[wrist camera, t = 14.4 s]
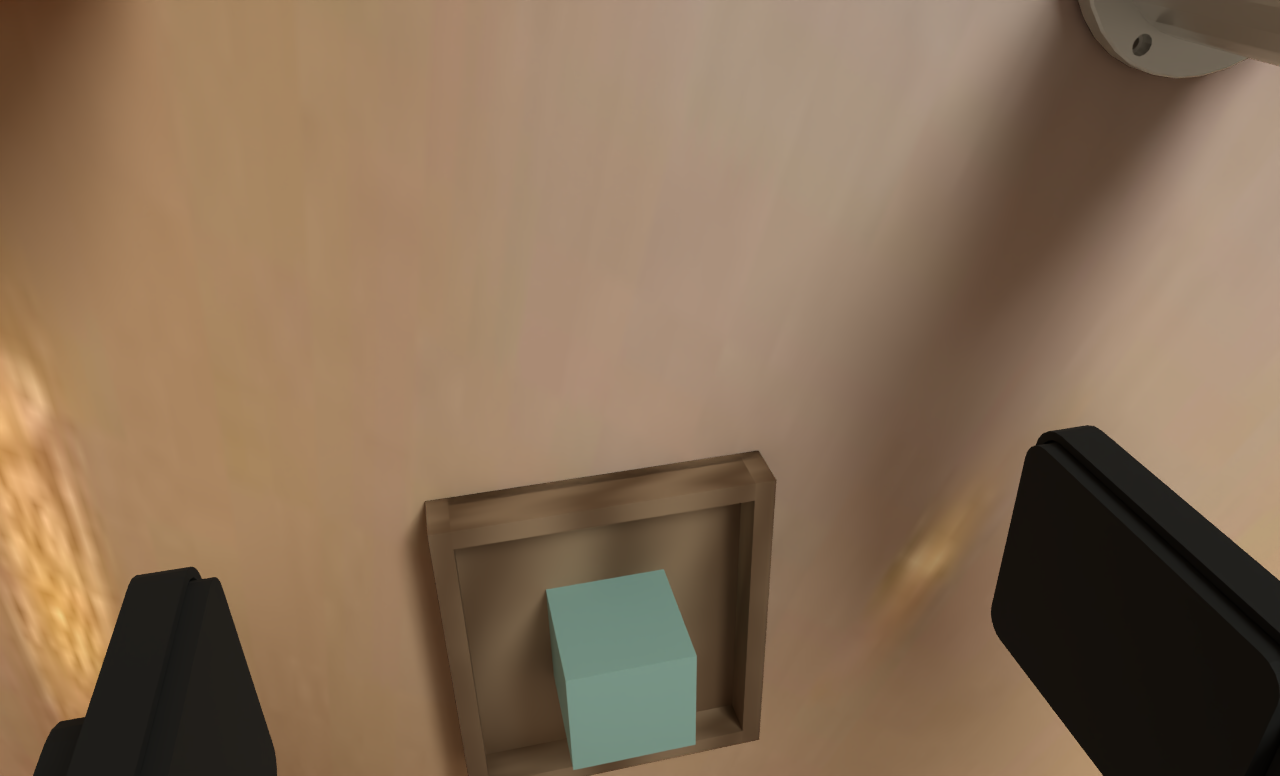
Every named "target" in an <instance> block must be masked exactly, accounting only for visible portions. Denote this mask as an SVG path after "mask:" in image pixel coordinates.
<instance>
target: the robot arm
mask: <svg viewBox="0 0 1280 776" xmlns="http://www.w3.org/2000/svg"><path fill="white" fill-rule="evenodd" d="M1078 1H1079V5H1080V8H1081V11H1082V15H1083V17H1084V19H1085V21H1086V23H1087V25H1088V26H1089V28H1090V30H1091V32H1092V34H1093V36H1094V37H1095V39H1096V40H1097V41H1098V42H1099V43H1100V44H1101V45H1102V46H1103V47H1104V48H1105V49H1106V51H1107V52H1108V53H1109V54H1110V55H1111V56H1113V57H1115V58H1116V59H1118V60H1119V61H1121V62H1123V63H1124V64H1126V65H1128V66H1129V67H1132V68H1135V69H1138V70H1141V71H1144V72H1147V73H1149V74H1152V75H1157V76H1163V77H1170V78H1188V77H1200V76H1204V75H1207V74H1211V73H1214V72H1218V71H1221V70H1224V69H1227V68H1229V67H1231V66H1233V65H1235V64H1237V63H1239V62H1241V61H1243V60H1245V59H1247V58H1251V59H1254V60H1258V61H1262V62H1265V63H1269V64H1273V65H1276V66H1280V0H1078ZM991 618H992V623H993V627H994V629H995V631H996V634H997V635H998V637H999V639H1000V640H1001V641H1002V643H1003V644H1004V645H1005V647H1006V648H1007V649H1008V651H1009V652H1010V653H1011V655H1012V656H1013V657H1014V659H1015V660H1016V661H1017V663H1018V664H1019V665H1020V667H1021V668H1022V669H1023V670H1024V672H1025V673H1026V674H1027V676H1028V677H1029V678H1030V680H1031V681H1032V682H1033V684H1034V685H1035V686H1036V688H1037V689H1038V690H1039V692H1040V693H1041V694H1042V696H1043V697H1044V698H1045V700H1046V701H1047V702H1048V703H1049V705H1050V706H1051V707H1052V709H1053V710H1054V711H1055V713H1056V714H1057V715H1058V717H1059V718H1060V719H1061V721H1062V722H1063V723H1064V725H1065V726H1066V727H1067V729H1068V730H1069V731H1070V732H1071V734H1072V735H1073V736H1074V738H1075V739H1076V740H1077V742H1078V743H1079V744H1080V746H1081V747H1082V748H1083V750H1084V751H1085V752H1086V754H1087V755H1088V756H1089V758H1090V759H1091V760H1092V761H1093V763H1094V764H1095V765H1096V767H1097V768H1098V769H1099V771H1100V772H1101V773H1102V775H1103V776H1280V581H1279V580H1278V579H1277V578H1276V577H1275V576H1273V575H1272V574H1271V573H1270V572H1269V571H1267V570H1266V569H1265V568H1264V567H1263V566H1262V565H1260V564H1259V563H1258V562H1257V561H1256V560H1254V559H1253V558H1252V557H1251V556H1250V555H1248V554H1247V553H1246V552H1245V551H1244V550H1243V549H1241V548H1240V547H1239V546H1238V545H1237V544H1235V543H1234V542H1233V541H1232V540H1231V539H1230V538H1228V537H1227V536H1226V535H1225V534H1224V533H1222V532H1221V531H1220V530H1219V529H1218V528H1216V527H1215V526H1214V525H1213V524H1212V523H1211V522H1209V521H1208V520H1207V519H1206V518H1205V517H1203V516H1202V515H1201V514H1200V513H1199V512H1198V511H1196V510H1195V509H1194V508H1193V507H1192V506H1190V505H1189V504H1188V503H1187V502H1186V501H1184V500H1183V499H1182V498H1181V497H1180V496H1179V495H1177V494H1176V493H1175V492H1174V491H1173V490H1171V489H1170V488H1169V487H1168V486H1167V485H1165V484H1164V483H1163V482H1162V481H1161V480H1160V479H1158V478H1157V477H1156V476H1155V475H1154V474H1152V473H1151V472H1150V471H1149V470H1148V469H1147V468H1145V467H1144V466H1143V465H1142V464H1141V463H1139V462H1138V461H1137V460H1136V459H1135V458H1133V457H1132V456H1131V455H1130V454H1129V453H1128V452H1126V451H1125V450H1124V449H1123V448H1122V447H1120V446H1119V445H1118V444H1117V443H1116V442H1115V441H1113V440H1112V439H1111V438H1110V437H1109V436H1107V435H1106V434H1105V433H1104V432H1103V431H1101V430H1100V429H1098V428H1096V427H1095V426H1089V425H1086V426H1080V427H1074V428H1067V429H1061V430H1055V431H1049V432H1046V433H1043V434H1042V435H1041V436H1040V437H1039V439H1038V441H1037V443H1036V446H1033V447H1031V448H1030V449H1029V450H1028V452H1027V454H1026V457H1025V461H1024V466H1023V470H1022V474H1021V479H1020V483H1019V488H1018V492H1017V497H1016V501H1015V505H1014V510H1013V514H1012V519H1011V523H1010V527H1009V532H1008V536H1007V541H1006V545H1005V549H1004V554H1003V558H1002V563H1001V567H1000V571H999V576H998V580H997V585H996V589H995V593H994V598H993V602H992V607H991ZM33 776H277V765H276V756H275V750H274V746H273V743H272V740H271V737H270V734H269V731H268V728H267V724H266V721H265V718H264V715H263V712H262V709H261V706H260V703H259V700H258V697H257V693H256V690H255V687H254V684H253V681H252V678H251V675H250V672H249V669H248V665H247V662H246V659H245V656H244V653H243V650H242V647H241V644H240V641H239V638H238V634H237V631H236V628H235V625H234V622H233V619H232V616H231V613H230V610H229V606H228V603H227V600H226V597H225V594H224V591H223V588H222V585H221V583H220V581H219V580H218V578H216V577H213V578H207V579H201V576H200V574H199V572H198V571H197V569H196V568H194V567H187V568H180V569H174V570H168V571H161V572H155V573H149V574H142V575H136V576H135V577H133V578H132V579H131V581H130V584H129V586H128V589H127V592H126V595H125V598H124V601H123V604H122V607H121V610H120V613H119V616H118V619H117V622H116V625H115V628H114V631H113V634H112V637H111V640H110V643H109V646H108V649H107V652H106V655H105V658H104V662H103V665H102V668H101V671H100V674H99V677H98V680H97V683H96V686H95V689H94V692H93V695H92V698H91V701H90V704H89V707H88V710H87V713H86V716H85V717H83V718H77V719H72V720H66V721H61V722H59V723H58V724H57V725H56V726H55V727H54V728H53V729H52V730H51V732H50V734H49V736H48V738H47V740H46V742H45V744H44V747H43V750H42V752H41V755H40V758H39V761H38V763H37V766H36V769H35V772H34V774H33Z"/></svg>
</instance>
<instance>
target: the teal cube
mask: <svg viewBox="0 0 1280 776" xmlns="http://www.w3.org/2000/svg"><path fill="white" fill-rule="evenodd" d="M546 597H547V607H548V618H549V629H550V639H551V650H552V661H553V671H554V678H555V683H556V688H557V693H558V698H559V703H560V708H561V713H562V718H563V723H564V727H565V732H566V737H567V742H568V747H569V752H570V757H571V762H572V767H573V770H577V769H582V768H586V767H591V766H596V765H601V764H605V763H610V762H615V761H620V760H624V759H629V758H634V757H639V756H643V755H648V754H653V753H658V752H663V751H667V750H672V749H677V748H682V747H686V746H691V745H696V676H697V655H696V652H695V650H694V647H693V645H692V642H691V639H690V637H689V634H688V631H687V629H686V626H685V624H684V621H683V618H682V616H681V613H680V610H679V608H678V605H677V602H676V600H675V597H674V595H673V592H672V589H671V587H670V584H669V581H668V579H667V576H666V574H665V571H664V569H662V570H656V571H650V572H644V573H639V574H633V575H627V576H621V577H616V578H610V579H604V580H598V581H593V582H587V583H581V584H575V585H570V586H564V587H558V588H552V589H547V590H546Z"/></svg>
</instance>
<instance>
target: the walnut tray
mask: <svg viewBox="0 0 1280 776" xmlns="http://www.w3.org/2000/svg"><path fill="white" fill-rule="evenodd" d="M775 491H776V479H775V477H774V476H773V474H772V472H771V471H770V469H769V467H768V466H767V464H766V462H765V461H764V459H763V457H762V456H761V454H760V452H759V451H753V452H747V453H740V454H734V455H727V456H720V457H714V458H707V459H701V460H694V461H688V462H681V463H674V464H668V465H661V466H655V467H648V468H642V469H635V470H628V471H622V472H615V473H609V474H602V475H596V476H589V477H582V478H576V479H569V480H563V481H556V482H550V483H543V484H536V485H530V486H523V487H517V488H510V489H504V490H497V491H490V492H484V493H477V494H471V495H464V496H458V497H451V498H444V499H438V500H431V501H425V506H426V521H427V536H428V542H429V548H430V554H431V559H432V565H433V571H434V577H435V583H436V589H437V595H438V601H439V607H440V612H441V618H442V624H443V630H444V636H445V642H446V648H447V654H448V659H449V665H450V671H451V677H452V683H453V689H454V695H455V701H456V707H457V712H458V718H459V724H460V730H461V736H462V742H463V748H464V754H465V760H466V765H467V771H468V776H589V775H594V774H599V773H604V772H608V771H613V770H618V769H622V768H627V767H632V766H637V765H641V764H646V763H651V762H656V761H660V760H665V759H670V758H675V757H679V756H684V755H689V754H693V753H698V752H703V751H708V750H712V749H717V748H722V747H727V746H731V745H736V744H741V743H746V742H750V741H755V740H759V732H760V717H761V702H762V687H763V672H764V657H765V642H766V627H767V612H768V597H769V581H770V566H771V551H772V536H773V521H774V506H775ZM662 569H664V571H665V574H666V576H667V579H668V581H669V584H670V587H671V589H672V592H673V595H674V597H675V600H676V602H677V605H678V608H679V610H680V613H681V616H682V618H683V621H684V624H685V626H686V629H687V631H688V634H689V637H690V639H691V642H692V645H693V647H694V650H695V652H696V655H697V676H696V745H691V746H686V747H682V748H677V749H672V750H667V751H663V752H658V753H653V754H648V755H643V756H639V757H634V758H629V759H624V760H620V761H615V762H610V763H605V764H601V765H596V766H591V767H586V768H582V769H577V770H573V767H572V762H571V757H570V752H569V747H568V742H567V737H566V732H565V727H564V723H563V718H562V713H561V708H560V703H559V698H558V693H557V688H556V683H555V678H554V671H553V661H552V650H551V639H550V629H549V618H548V607H547V597H546V590H547V589H552V588H558V587H564V586H570V585H575V584H581V583H587V582H593V581H598V580H604V579H610V578H616V577H621V576H627V575H633V574H639V573H644V572H650V571H656V570H662Z"/></svg>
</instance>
